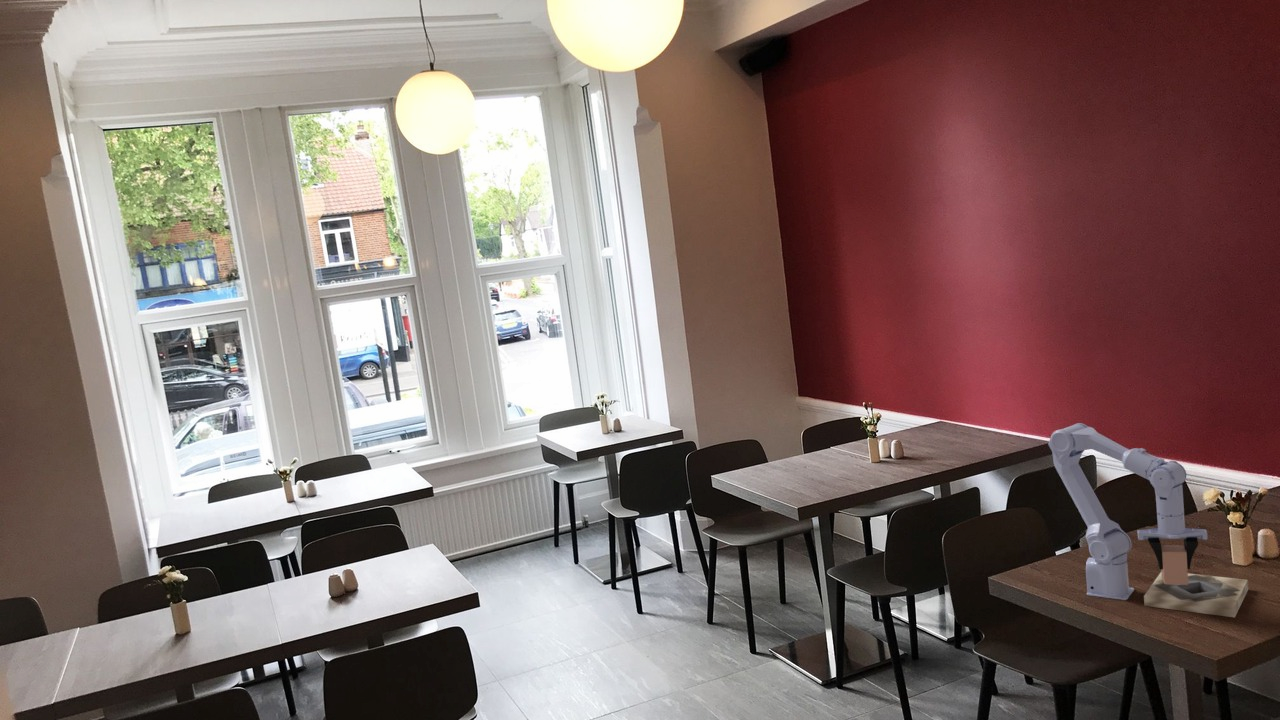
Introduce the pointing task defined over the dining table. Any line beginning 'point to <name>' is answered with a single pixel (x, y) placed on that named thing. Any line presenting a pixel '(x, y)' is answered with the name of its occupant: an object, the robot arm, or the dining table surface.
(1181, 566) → the peg
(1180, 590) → the socket board
